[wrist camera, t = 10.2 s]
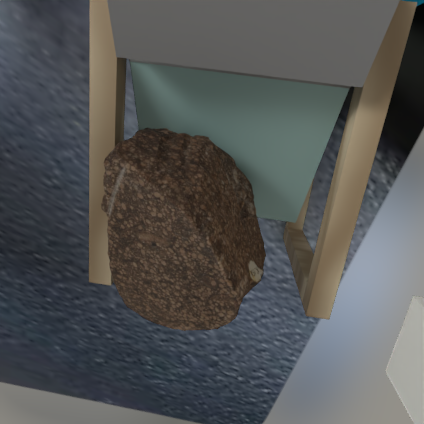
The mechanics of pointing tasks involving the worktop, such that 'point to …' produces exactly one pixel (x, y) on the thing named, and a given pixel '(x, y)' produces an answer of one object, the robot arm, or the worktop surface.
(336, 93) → the trapdoor
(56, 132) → the worktop surface
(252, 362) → the worktop surface
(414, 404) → the robot arm
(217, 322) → the rock
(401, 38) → the frame
